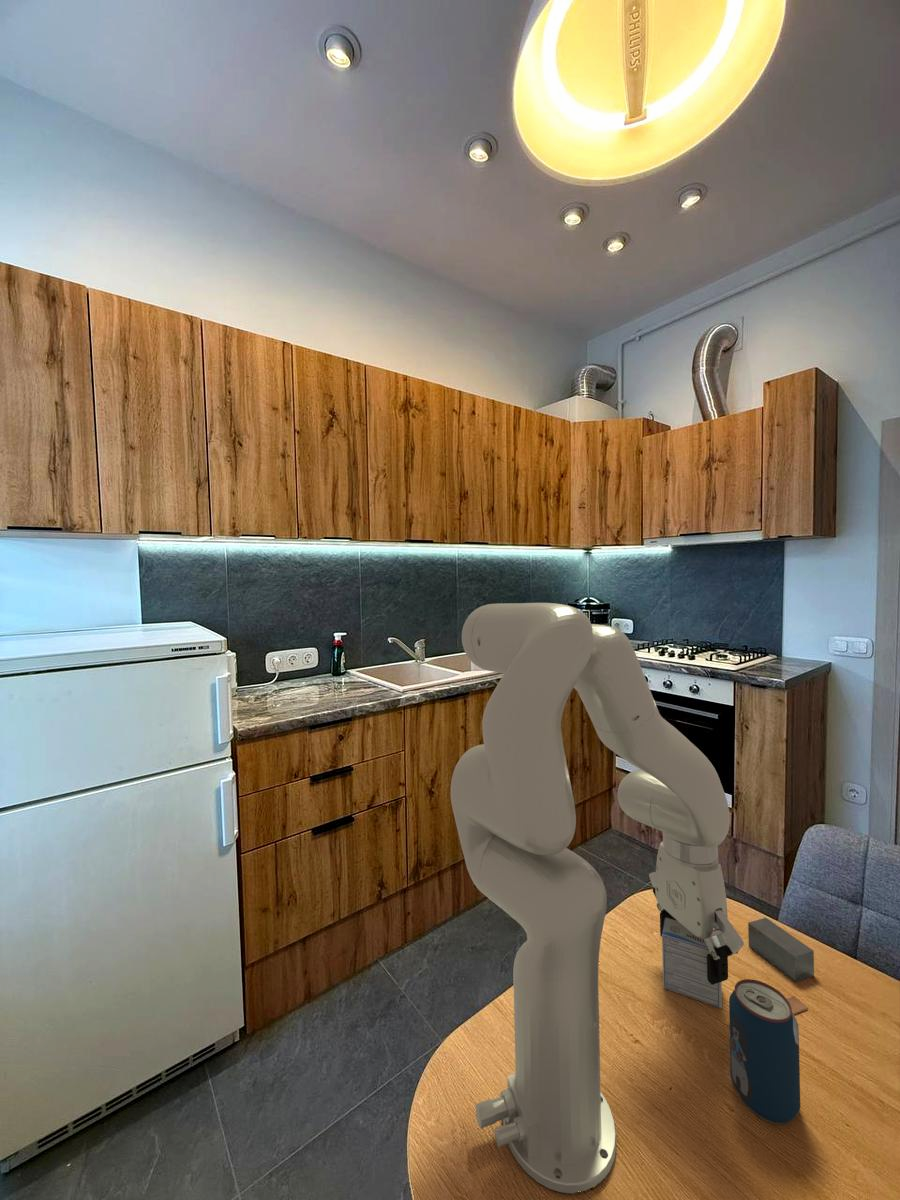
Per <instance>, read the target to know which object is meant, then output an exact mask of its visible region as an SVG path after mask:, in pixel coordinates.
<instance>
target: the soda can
mask: <svg viewBox="0 0 900 1200" xmlns="http://www.w3.org/2000/svg"><path fill="white" fill-rule="evenodd" d="M787 999H788V998H787V997H786V996H785V995H784V994H783V993H782V992H780V991H779V990H778V989H776V988H775V987H773V986H772V985H770V984H767V983H765V982H764V981H760V980H756V979H751V978H750V979H749V978H746V979H745V978H744V979H740V980H739V981H737V982H736V983H735V985H734V989H733V991H732V993H731V994H730V996H729V1000H728V1003H729V1004H728V1005H729V1006H728V1008H729V1009H728V1010H729V1011H728V1012H729V1014H728V1015H729V1058H730V1060H729V1061H730V1063H729V1064H730V1065H729V1067H730V1071H729V1072H730V1077H731V1082H732V1084H733V1086H734V1088H735V1090H736V1092H737V1094H738V1096H739V1097H740V1099H741V1100H742V1101H743V1103H744V1104H745V1106H747V1108H748V1109H749V1110H750V1111H751V1112H752V1113H754V1115H757V1117H759V1118H760V1119H762V1120H763V1121H766V1122H768V1123H771V1124H775V1125H784V1124H788V1123H790V1122H791V1121H793V1120H794V1119H795V1118H796V1117H797V1116H798V1115H799V1113H800V1110H801V1076H800V1075H801V1074H800V1073H801V1072H800V1071H801V1070H800V1035H799V1034H800V1032H799V1031H800V1030H799V1029H800V1027H799V1023H798V1021H797V1018H796V1016H795V1015H794V1014H793V1013H792V1008H791V1005H790V1003H789V1001H788V1000H787Z"/></svg>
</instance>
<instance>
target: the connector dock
mask: <svg viewBox="0 0 900 1200" xmlns="http://www.w3.org/2000/svg"><path fill="white" fill-rule="evenodd" d="M747 923H748V925H747V926H748V927H747V928H748V930H747V931H748V934H747V935H748V947H750V948H751V949H752V950H753V951H755V952H756V953H757V954H758V955H760V956H761V957H762V958H763V959H765V960H766V961H767V962H768V963H770V964H771V965H773V966H774V967H775V968H776V969H778V971H780V972H781V973H783V974H784V975H785V976H786V977H788V978H789V979H790V980H791V981H793V982H794V983H799V982H801V981H804V980H806V979H809V978H812V977H815V959H814V958H815V957H814V955H815V952H814V951H815V950H814V949H812V948H811V947H809V946H808V945H806V944H805V943H803V942H802V941H801V940H800V939H798V938H796V937H795V936H793V935H792V934H790V933H789V932H788V931H786V930H784V929H783V928H782V927H780V926H779V925H777V924H776V923H775V922H773V921H772V920H770V919H768V918H767V917H764V918H760V919H756V920H754V921H753V920H752V921H749V922H747ZM786 999H787V1000H788V1001H789V1003H790V1005H791V1008H792V1013H793V1014H794V1016H795V1015H797V1014H799V1013H802V1012H805V1011H808V1010H809V1007H808V1006H807V1005H805V1004H804V1003H803V1002H801V1000H799V998H797V997H796V996H794V995H793V996H791V997H788V998H786Z"/></svg>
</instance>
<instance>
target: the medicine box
mask: <svg viewBox="0 0 900 1200" xmlns="http://www.w3.org/2000/svg"><path fill="white" fill-rule="evenodd" d="M712 938H713V940H714V943H715V945H716V947H717V948H718V947H721V945H720V943H719V941H718V938H717V936H712ZM661 943H662V944H661V948H662V949H661V950H662V953H661V954H662V957H661V958H662V987H663V989H667V990H668V991H672V992H674V993H677V994H680V995H683V996H685V997H689V998H692V999H694V1000H696V1001H700V1002H702V1003H704V1004H708V1005H710V1006H713V1007H715V1008H719V1009H723V1005H722V1004H723V993H722V992H723V989H722V987H723V985H722V983H723V981H722V982H719V983H716V984H713V985H712V984H711V983H710V982H708V979H707V955H708V954H710V951H709V949H708V947H707V944H706V942H705V940H704V939H700V938H698V937H697V936H695V935H694V934H693V933H691V932H690V931H689V930H688V929H687V928H686V927H684V926H683V925H682V924H681V923H680V922H679V921H676V920H673V919H669V918H665V920H664V925H663V930H662V937H661Z"/></svg>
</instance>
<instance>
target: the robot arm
mask: <svg viewBox="0 0 900 1200" xmlns="http://www.w3.org/2000/svg"><path fill="white" fill-rule="evenodd" d="M461 644H462V647H463V651H464V653H465V655H466V656H467V658H468V659H469V661H470V662H471V663H472V664H474V665H475V666H476V667H477V668H479V669H482V670H485V671H489V672H493V673H498V674H502V676H501V678H500V680H499V681H498V684H497V685H496V687H495V689H494V690H493V692H492V693H491V695H490V696H489V699H488V701H487V703H486V706H485V708H484V711H483V714H482V723H481V726H482V727H481V729H482V731H481V732H482V740H483V744H478V745H475V746H473V747H471V748H469V749H467V750H466V751H465V752H464V753H463V754H462V755H461V757H460V758H459V760H458V762H457V763H456V765H455V768H454V770H453V773H452V775H451V776H452V777H451V782H450V803H451V807H452V813H453V816H454V821H455V825H456V829H457V834H458V837H459V842H460V845H461V846H460V847H461V849H462V854H463V857H464V862H465V866H466V869H467V872H468V874H469V877H470V879H471V881H472V882H473V883H472V884H474V886H475V887H476V888H477V889H478V891H479V892H481V893H482V894H483V895H484V896H485V897H487V899H489V900H490V901H491V902H492V903H494V904H495V905H496V906H497V907H498V908H500V909H501V910H502V911H504V912H505V913H506V914H508V915H509V917H510V918H512V919H513V920H514V921H516V922H517V923H518V924H519V925H520V926H521V927H522V928H523V930H524V931H525V934H526V938H527V939H526V941H525V942H523V944H522V945H521V946H520V947H519V948H518V950H517V952H516V955H515V957H514V962H513V970H512V971H513V972H512V976H513V977H512V978H513V981H512V983H513V1015H514V1016H513V1017H514V1023H513V1024H514V1064H515V1066H514V1067H515V1068H514V1069H515V1070H514V1072H515V1073H512V1074H510V1075H507V1076H506V1077H507V1078H506V1079H507V1087H506V1089H504V1090H501V1091H500V1093H499V1095H500V1096H498V1097H495V1098H492V1099H491V1098H489V1099H485V1100H484V1101H483V1100H482V1101H480V1102H478V1103H475V1117H476V1120H477V1124H478V1127H479V1129H480V1130H481V1129H484V1128H486V1127H489V1126H492V1125H494V1124H496V1122H499V1121H502V1122H503V1124H502V1125H500V1126H497V1127H494V1137H495V1141H496V1145H497V1147H498V1148H500V1147H502V1146H504V1145H505V1146H506V1145H508V1147H509V1148H510V1149H509V1150H510V1151H511V1153H512V1155H513V1156H514V1158H515V1160H516V1162H517V1163H518V1164H519V1166H520V1167H521V1168H522V1170H523V1171H524V1172H525V1173H526V1174H528V1175H529V1176H530V1177H531V1178H532V1179H533V1180H534V1181H535V1182H537V1183H539V1184H540V1185H542V1186H544V1187H545V1188H547V1189H550V1190H551V1191H556V1192H559V1193H563V1194H565V1193H566V1194H576V1193H575V1192H578V1191H579V1192H580V1191H585V1190H587V1189H590V1188H592V1187H593V1186H595V1185H597V1184H598V1183H599V1184H600V1183H602V1182H603V1181H604V1180H603V1178H604V1179H606V1177H608V1176H607V1175H608V1174H609V1173H610V1172H611V1169H612V1167H613V1164H614V1162H615V1158H616V1152H617V1130H616V1122H615V1120H614V1119H615V1118H614V1115H613V1110H612V1109H611V1107H610V1105H609V1102H608V1101H607V1099H606V1096H604V1094H603V1092H602V1089H601V1050H600V1048H601V1043H600V999H599V998H600V996H599V994H600V993H599V992H600V991H599V963H600V949H601V939H602V933H603V929H604V924H605V919H606V912H607V903H608V902H607V901H608V900H607V891H606V890H607V889H606V887H605V884H604V881H603V879H602V877H601V876H600V874H599V873H598V872H597V870H596V869H595V867H593V866H592V865H591V864H590V863H589V862H588V861H587V860H585V859H584V858H583V856H580V855H578V854H577V853H576V852H574V851H572V850H571V849H569V848H568V847H569V845H570V843H571V842H572V840H573V838H574V835H575V832H576V827H577V826H576V825H577V824H576V823H577V821H576V820H577V816H576V815H577V814H576V805H575V799H574V794H573V789H572V788H573V787H572V784H571V783H572V782H571V779H570V774H569V770H568V769H569V767H568V764H567V759H566V758H567V757H566V754H565V748H564V743H563V742H564V741H563V736H562V735H563V734H562V718H563V717H562V716H563V713H564V709H565V706H566V704H567V702H568V700H569V697H570V695H571V693H572V691H573V689H574V690H575V691H577V693H578V696H579V697H580V699H581V701H582V704H583V705H584V706H583V707H584V708H585V711H586V712H587V714H588V717H589V718H590V721H591V723H592V725H593V727H594V730H595V732H596V734H597V737H598V738H599V740H600V742H602V744H603V745H604V746H605V747H606V748H608V749H609V750H610V751H612V752H613V753H614V754H616V755H617V756H619V757H620V758H621V759H623V760H625V761H626V762H628V763H630V765H633V766H634V767H636V768H638V769H636V770H633V771H630V772H629V773H627V774H626V775H625V776H623V778H622V779H621V781H620V782H619V786H618V788H617V795H616V796H617V801H618V805H619V807H620V809H621V810H622V812H624V813H625V814H626V815H627V816H628V817H629V818H631V819H632V820H634V821H636V822H638V823H641V824H644V825H646V826H648V827H651V828H653V829H656V830H658V831H661V832H662V841H661V842H660V843H659V847H658V851H657V856H656V862H655V863H656V864H655V865H656V866H655V871H653V872H649V874H648V876H649V880H650V883H651V886H652V887H653V888H652V893H653V895H654V897H655V899H656V901H657V902H656V907H657V910H658V911H659V930H660V933H659V935H660V937H661V938H662V930H663V925H664V920H665V918H669V919H673V920H676V921H679V922H680V923H681V924H682V925H683V926H684V927H686V928H687V929H688V930H689V931H690V932H691V933H693V934H694V935H695V936H697V937H698V938H700V939H704V940H705V942H706V944H707V947H708V949H709V951H710V954H708V955H707V979H708V982H710V983H711V984H712V985H713V984H716V983H719V982H722V983H723V982H725V981H727V980H728V979H729V957H731V956H734V955H737V954H738V953H739V951H740V950H741V949H742V948H743V947H744V945H745V943H744V940H743V938H742V937H741V935H740V934H739V933H738V931H737V930H736V929H735V927H734V926H733V924H732V923H731V921H730V920H729V919H728V903H727V902H728V901H727V893H726V887H725V879H724V875H723V870H722V866H721V864H720V863H719V845H721V843H723V842H724V840H725V839H726V837H727V835H728V833H729V829H730V823H731V819H730V808H729V804H728V799H727V796H726V792H725V791H724V788H723V785H722V783H721V780H720V777H719V774H718V772H717V771H716V768H715V767H714V765H713V764H712V762H711V761H710V760H709V758H708V757H707V756H706V755H705V754H704V753H703V752H702V751H701V750H700V749H699V748H698V747H697V746H696V745H695V744H694V743H693V742H691V741H690V740H689V738H687V737H686V736H685V735H684V734H683V733H682V732H681V731H679V730H678V729H677V728H676V727H675V726H674V725H672V724H671V723H669V722H668V721H667V720H666V719H665V718H663V716H662V715H661V713H660V711H659V709H658V706H657V704H656V701H655V699H654V697H653V694H652V691H651V689H650V686H649V684H648V681H647V679H646V677H645V676H646V675H645V674H644V671H643V670H642V666H641V664H640V661H639V659H638V655H637V654H636V651H635V649H634V647H633V645H632V642H631V641H630V639H629V637H627V635H626V634H625V633H624V632H623V631H621V630H620V629H617V628H616V627H614V626H609V625H604V624H596V623H591V620H590V619H589V617H588V616H587V614H585V613H584V612H583V611H582V610H580V609H579V608H577V607H574V606H571V605H568V604H561V603H554V602H553V603H552V602H524V603H523V602H521V603H516V602H515V603H511V602H510V603H505V602H504V603H489V604H485V605H481V606H480V607H477V608H476V609H474V610H473V611H472V612H471V613H470V614H469V615H468V616H467V618H466V619H465V621H464V624H463V627H462V630H461ZM712 936H717V938H718V941H719V943H720V945H721V947H718V948H717V947H716V945H715V943H714V940H713V938H712ZM602 1180H603V1181H602ZM601 1181H602V1182H601ZM599 1184H598V1185H599ZM598 1185H597V1186H598ZM592 1189H593V1188H592ZM590 1190H591V1189H590ZM587 1191H588V1190H587ZM585 1192H586V1191H585ZM580 1193H581V1192H580Z"/></svg>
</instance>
